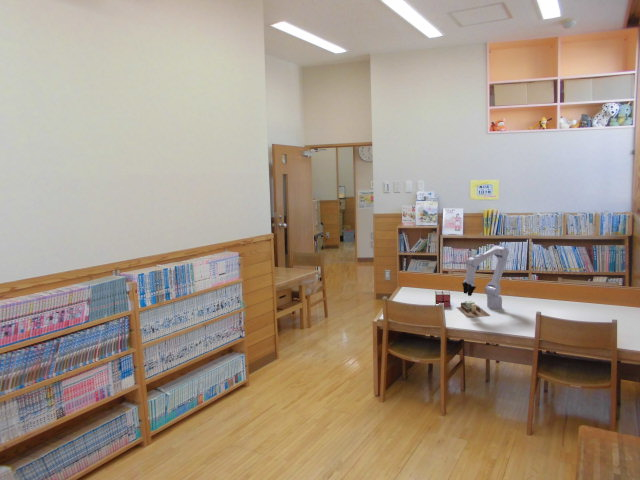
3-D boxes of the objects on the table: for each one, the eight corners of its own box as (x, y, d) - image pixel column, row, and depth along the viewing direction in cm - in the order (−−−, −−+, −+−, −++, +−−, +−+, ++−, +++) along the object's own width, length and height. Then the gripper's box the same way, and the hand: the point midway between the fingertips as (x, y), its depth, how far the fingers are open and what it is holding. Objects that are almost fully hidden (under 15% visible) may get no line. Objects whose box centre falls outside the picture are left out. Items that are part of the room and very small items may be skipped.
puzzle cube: (450, 308, 334) (450, 294, 332) (436, 307, 336) (435, 294, 334) (449, 303, 343) (449, 290, 342) (435, 303, 346) (435, 290, 344)
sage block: (471, 307, 330) (471, 299, 329) (478, 312, 318) (478, 304, 317) (464, 307, 330) (464, 300, 329) (471, 313, 318) (471, 305, 317)
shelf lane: (477, 306, 333) (477, 301, 332) (490, 317, 311) (490, 310, 311) (455, 308, 332) (455, 302, 331) (467, 318, 310) (467, 312, 310)
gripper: (461, 272, 324) (458, 291, 325) (468, 276, 309) (465, 296, 310) (470, 273, 324) (467, 292, 325) (479, 277, 310) (475, 297, 311)
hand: (467, 294), depth 318 cm, fingers open, 7 cm apart
